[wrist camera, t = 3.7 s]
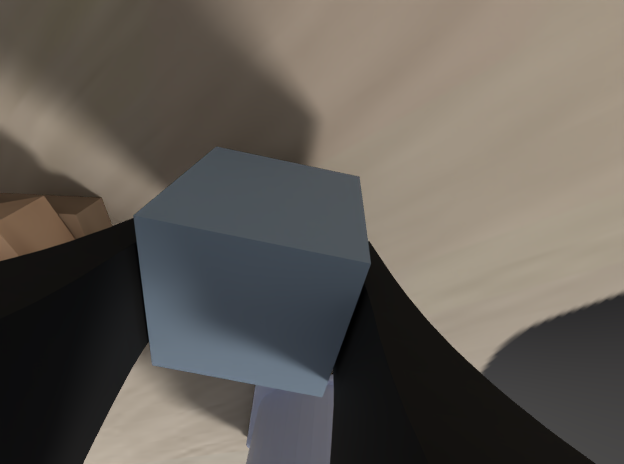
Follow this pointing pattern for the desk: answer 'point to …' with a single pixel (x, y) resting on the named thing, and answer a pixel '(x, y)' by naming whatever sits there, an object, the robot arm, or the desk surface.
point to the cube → (253, 269)
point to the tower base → (73, 212)
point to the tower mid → (30, 227)
